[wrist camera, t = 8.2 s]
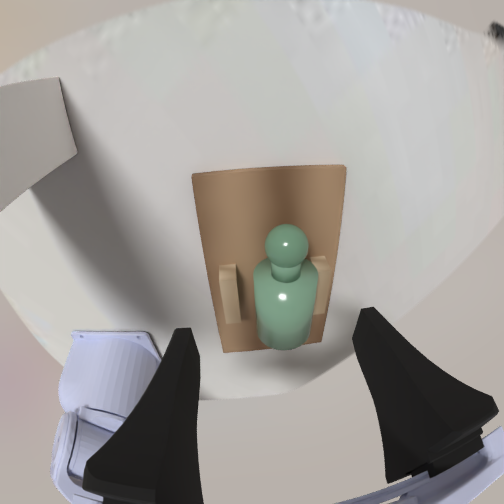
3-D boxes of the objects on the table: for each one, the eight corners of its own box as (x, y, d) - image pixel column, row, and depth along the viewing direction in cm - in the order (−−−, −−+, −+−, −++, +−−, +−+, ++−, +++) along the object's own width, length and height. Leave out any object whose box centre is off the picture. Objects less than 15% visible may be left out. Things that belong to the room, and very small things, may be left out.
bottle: (268, 357, 20) (266, 254, 15) (249, 317, 24) (241, 217, 18) (320, 339, 21) (337, 237, 16) (296, 303, 25) (302, 205, 19)
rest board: (223, 348, 28) (223, 367, 26) (192, 173, 18) (187, 187, 16) (319, 337, 28) (325, 355, 26) (343, 164, 18) (357, 176, 16)
